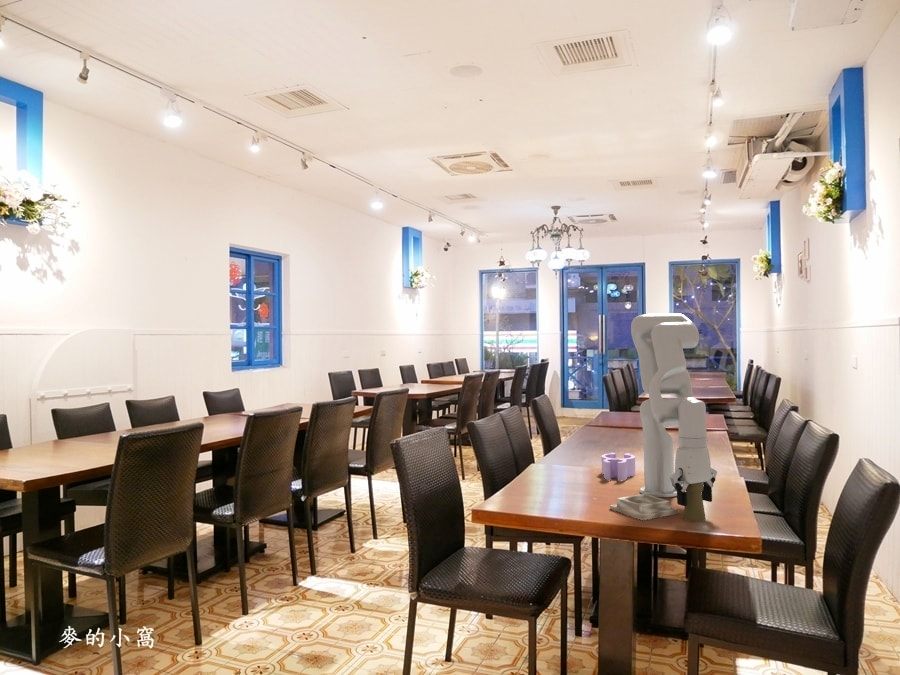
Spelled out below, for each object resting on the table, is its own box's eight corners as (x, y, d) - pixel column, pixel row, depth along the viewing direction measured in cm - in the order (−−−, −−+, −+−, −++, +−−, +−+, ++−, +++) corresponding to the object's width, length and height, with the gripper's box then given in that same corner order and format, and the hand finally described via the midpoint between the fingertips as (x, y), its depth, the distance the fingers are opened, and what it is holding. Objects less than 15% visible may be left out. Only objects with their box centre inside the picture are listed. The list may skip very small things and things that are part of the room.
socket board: (644, 503, 201) (644, 492, 201) (678, 513, 189) (678, 501, 189) (609, 509, 195) (609, 497, 195) (642, 520, 183) (642, 508, 183)
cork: (683, 520, 182) (682, 482, 182) (683, 515, 187) (682, 477, 187) (706, 522, 179) (705, 483, 179) (705, 516, 185) (704, 478, 185)
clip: (631, 482, 230) (631, 463, 230) (596, 480, 235) (596, 461, 235) (637, 471, 249) (636, 453, 249) (604, 469, 254) (604, 452, 254)
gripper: (704, 439, 190) (706, 496, 190) (660, 444, 183) (662, 504, 182) (724, 442, 184) (727, 501, 183) (680, 447, 176) (682, 509, 176)
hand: (694, 503), depth 183 cm, fingers open, 9 cm apart
